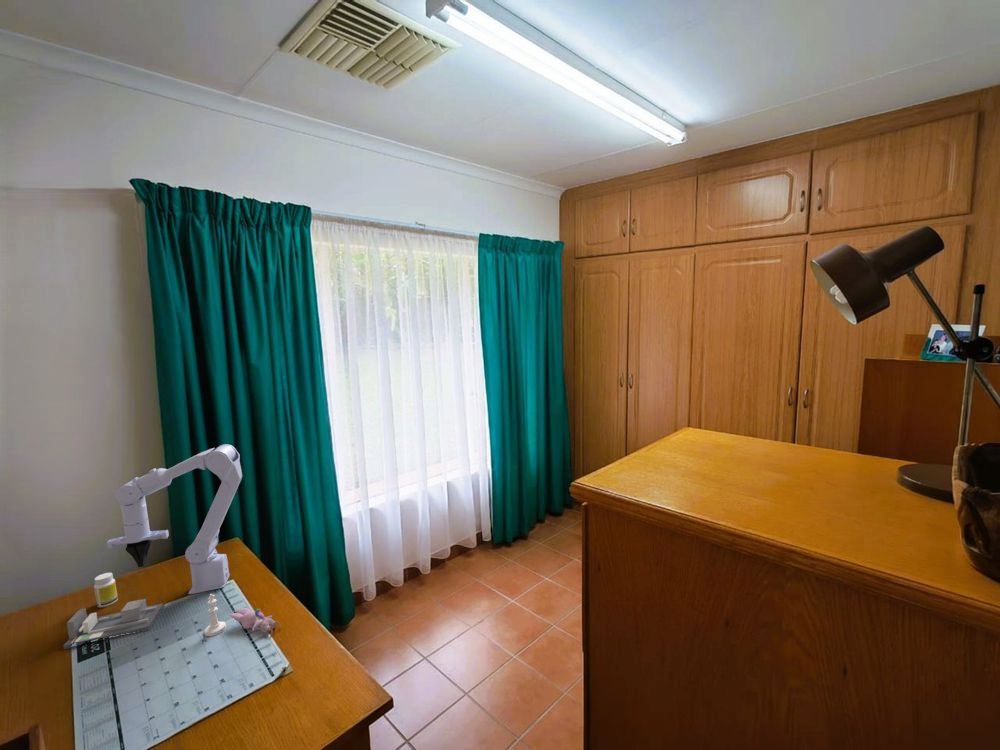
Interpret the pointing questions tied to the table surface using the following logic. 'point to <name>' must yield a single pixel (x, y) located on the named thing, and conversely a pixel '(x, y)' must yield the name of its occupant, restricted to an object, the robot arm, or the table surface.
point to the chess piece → (214, 619)
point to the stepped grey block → (132, 611)
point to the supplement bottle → (105, 590)
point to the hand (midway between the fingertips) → (142, 565)
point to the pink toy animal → (255, 620)
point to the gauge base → (108, 625)
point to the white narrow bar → (89, 623)
